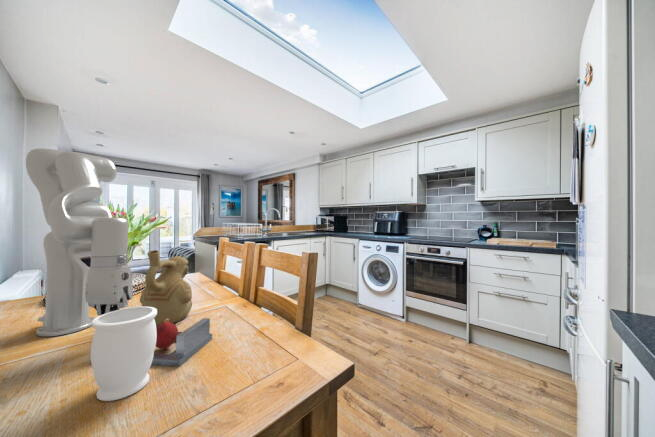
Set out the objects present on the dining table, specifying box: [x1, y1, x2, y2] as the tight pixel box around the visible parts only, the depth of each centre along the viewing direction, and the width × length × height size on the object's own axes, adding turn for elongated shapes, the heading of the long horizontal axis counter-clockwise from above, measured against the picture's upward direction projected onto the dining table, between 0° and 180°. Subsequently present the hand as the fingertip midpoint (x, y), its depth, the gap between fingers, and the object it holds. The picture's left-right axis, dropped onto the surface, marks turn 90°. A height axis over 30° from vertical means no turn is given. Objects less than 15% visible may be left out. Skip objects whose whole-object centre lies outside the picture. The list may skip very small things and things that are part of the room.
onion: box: [155, 319, 179, 350], centre depth 65 cm, size 6×6×8 cm
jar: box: [90, 305, 157, 402], centre depth 50 cm, size 11×10×15 cm
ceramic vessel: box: [139, 249, 193, 327], centre depth 85 cm, size 17×20×25 cm
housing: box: [151, 317, 213, 368], centre depth 65 cm, size 22×14×6 cm, turn 85°
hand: (107, 328), depth 66 cm, fingers closed
